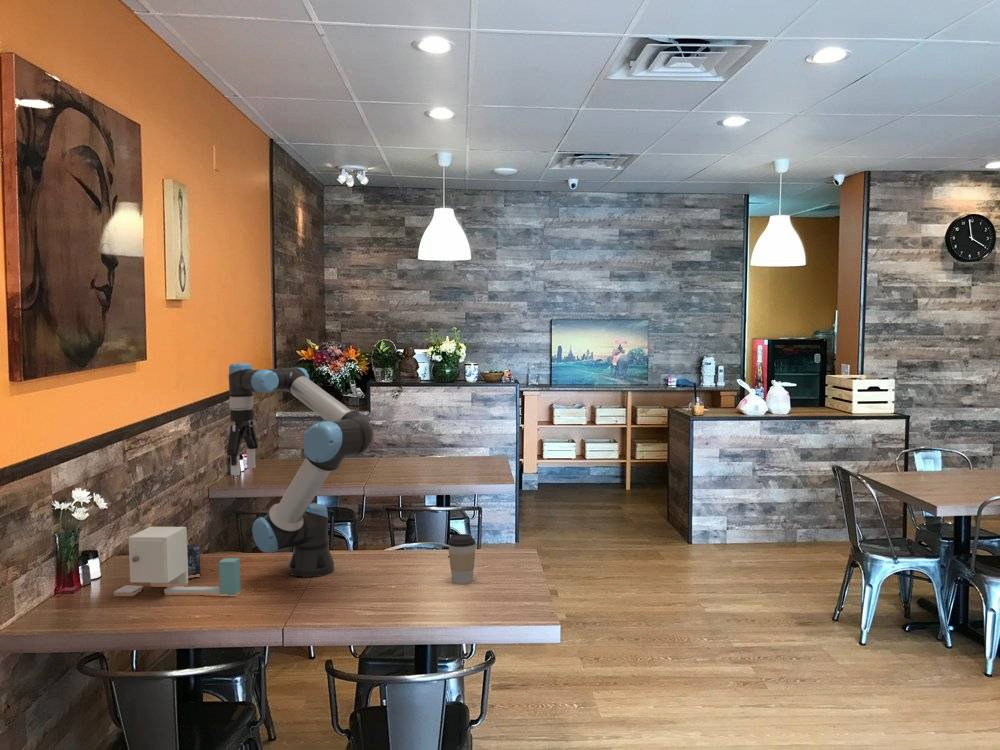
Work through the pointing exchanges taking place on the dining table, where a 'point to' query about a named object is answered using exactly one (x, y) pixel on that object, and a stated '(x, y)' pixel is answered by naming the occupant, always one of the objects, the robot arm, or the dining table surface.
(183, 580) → the wall cabinet
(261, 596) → the dining table surface
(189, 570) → the box
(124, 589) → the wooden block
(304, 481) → the robot arm
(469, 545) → the coffee cup
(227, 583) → the hammer tool
